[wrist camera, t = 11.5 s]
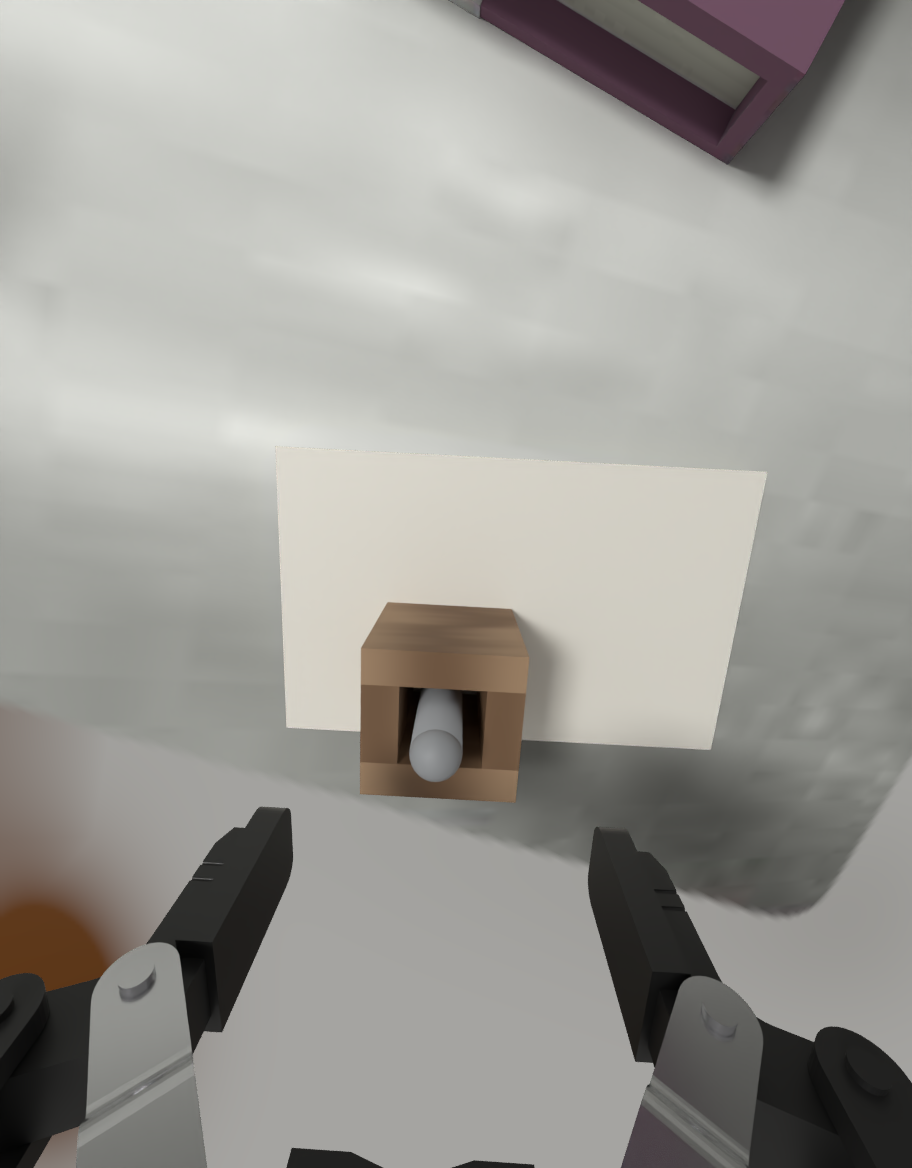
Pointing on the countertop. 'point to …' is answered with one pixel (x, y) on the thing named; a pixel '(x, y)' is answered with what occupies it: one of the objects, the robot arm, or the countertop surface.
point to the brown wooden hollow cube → (443, 661)
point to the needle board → (519, 586)
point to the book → (678, 55)
